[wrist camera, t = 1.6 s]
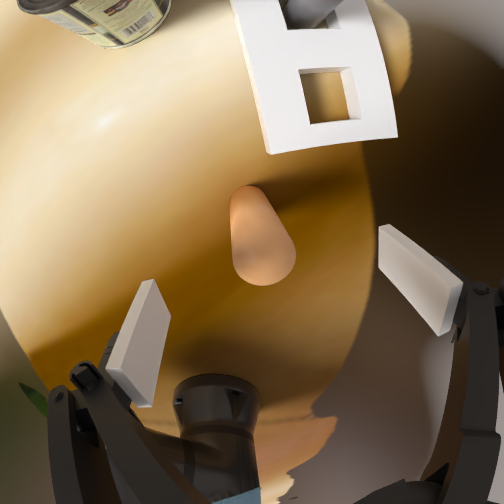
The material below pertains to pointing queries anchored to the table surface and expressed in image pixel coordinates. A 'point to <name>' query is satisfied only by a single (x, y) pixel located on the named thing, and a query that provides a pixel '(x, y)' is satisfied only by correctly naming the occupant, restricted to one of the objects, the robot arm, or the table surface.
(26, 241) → the table surface
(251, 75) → the housing
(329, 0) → the ball
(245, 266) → the jaw pin orange
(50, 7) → the coffee can
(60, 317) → the table surface
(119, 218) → the table surface
